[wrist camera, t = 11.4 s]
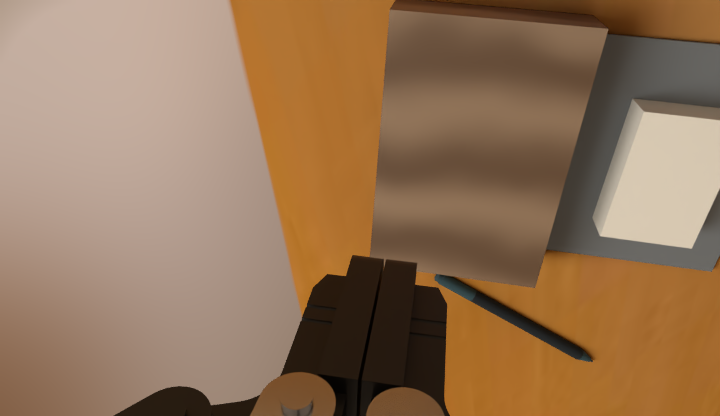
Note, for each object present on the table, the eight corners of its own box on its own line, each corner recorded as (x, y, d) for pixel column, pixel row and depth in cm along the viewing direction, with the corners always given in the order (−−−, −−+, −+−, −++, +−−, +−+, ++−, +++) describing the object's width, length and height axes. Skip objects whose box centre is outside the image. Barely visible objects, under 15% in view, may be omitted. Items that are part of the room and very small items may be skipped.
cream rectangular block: (749, 123, 32) (731, 109, 34) (643, 111, 32) (632, 98, 34) (691, 248, 36) (678, 229, 38) (599, 236, 37) (592, 217, 39)
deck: (396, -2, 34) (389, 9, 30) (592, 15, 32) (608, 29, 29) (376, 235, 43) (369, 264, 40) (528, 255, 42) (534, 287, 38)
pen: (586, 359, 46) (589, 370, 45) (433, 275, 45) (432, 284, 44) (595, 352, 46) (598, 362, 45) (440, 266, 44) (440, 275, 43)
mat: (605, 33, 33) (606, 34, 33) (815, 52, 32) (818, 53, 31) (544, 247, 41) (545, 249, 41) (710, 269, 40) (711, 271, 39)
